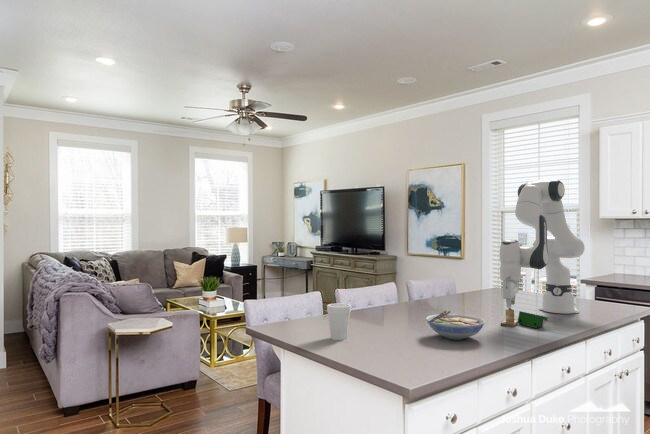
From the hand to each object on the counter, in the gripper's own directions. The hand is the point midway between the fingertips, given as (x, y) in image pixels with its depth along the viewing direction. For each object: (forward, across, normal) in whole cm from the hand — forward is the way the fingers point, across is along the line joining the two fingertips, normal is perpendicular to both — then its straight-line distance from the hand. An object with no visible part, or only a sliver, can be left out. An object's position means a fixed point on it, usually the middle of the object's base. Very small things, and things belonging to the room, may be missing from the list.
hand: (510, 306), depth 210 cm
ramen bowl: (+7, -40, +14) cm, 43 cm away
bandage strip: (+8, 0, 0) cm, 8 cm away
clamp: (+8, 0, -9) cm, 12 cm away
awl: (+7, -1, 0) cm, 7 cm away
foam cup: (+6, -64, +54) cm, 84 cm away
